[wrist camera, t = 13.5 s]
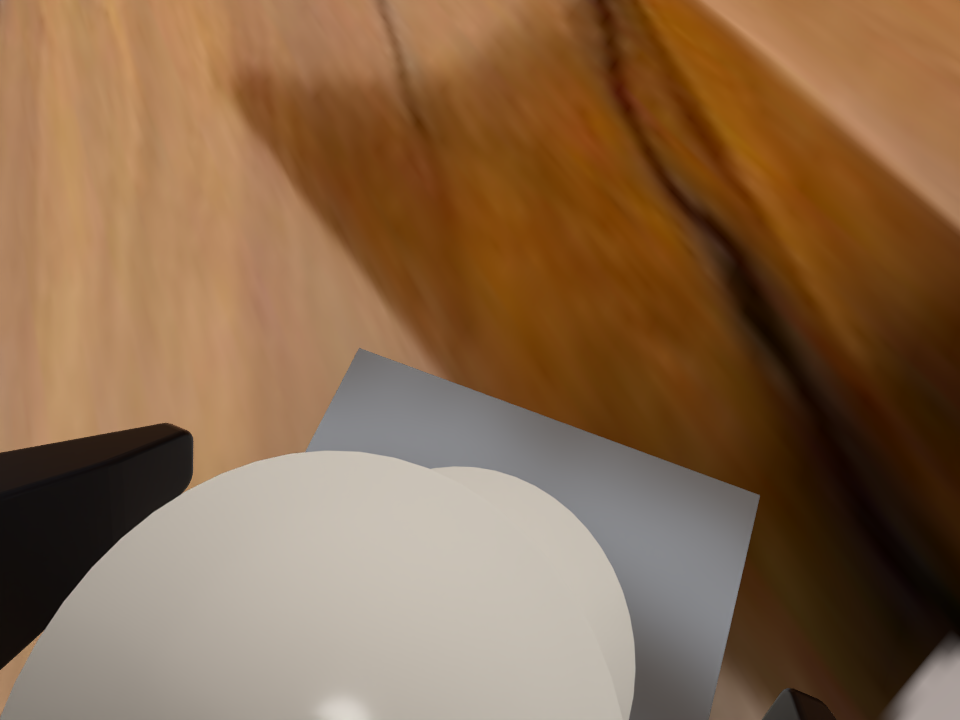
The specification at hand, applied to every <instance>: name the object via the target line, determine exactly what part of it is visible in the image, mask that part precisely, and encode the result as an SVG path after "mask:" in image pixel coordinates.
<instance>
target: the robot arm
mask: <svg viewBox="0 0 960 720" xmlns="http://www.w3.org/2000/svg"><path fill="white" fill-rule="evenodd" d="M192 475H193V437H192V435H191V433H190V432H189V431H187V430H185V429H182V428H180V427H178V426H175V425H173V424H169V423H162V424H156V425H151V426H145V427H140V428H134V429H129V430H123V431H118V432H112V433H107V434H101V435H96V436H90V437H85V438H79V439H74V440H68V441H63V442H57V443H52V444H46V445H41V446H35V447H30V448H24V449H19V450H13V451H8V452H2V453H0V670H1V669H2V668H3V667H4V666H5V665H7V664H8V663H9V662H10V661H11V660H12V659H13V658H14V657H15V656H16V655H18V654H19V653H20V652H21V651H22V650H23V649H24V648H25V647H26V646H27V645H29V644H30V643H31V642H32V641H33V640H34V639H35V638H36V637H37V636H38V635H40V634H41V633H42V632H43V631H44V630H45V629H46V627H47V626H48V624H49V623H50V621H51V620H52V618H53V617H54V615H55V614H56V612H57V611H58V609H59V608H60V606H61V605H62V603H63V602H64V601H65V600H66V598H67V597H68V596H69V595H70V593H71V592H72V591H73V590H74V589H75V587H76V586H77V585H78V584H79V583H80V581H81V580H82V579H83V578H84V576H85V575H86V574H87V573H88V572H89V570H90V569H91V568H92V567H93V566H94V565H95V564H96V563H97V562H98V561H99V560H100V559H101V558H102V557H103V556H104V555H105V554H106V553H107V552H108V551H109V550H110V549H111V548H112V547H113V546H114V545H115V544H116V543H117V542H118V541H119V540H120V539H121V538H122V537H123V536H125V535H126V534H127V533H128V532H130V531H131V530H132V529H133V528H135V527H136V526H137V525H138V524H140V523H141V522H142V521H143V520H144V519H146V518H147V517H148V516H149V515H151V514H152V513H153V512H155V511H156V510H158V509H159V508H161V507H162V506H164V505H165V504H167V503H169V502H170V501H172V500H173V499H175V498H176V497H178V496H179V495H181V494H182V493H183V492H184V490H185V489H186V488H187V486H188V485H189V483H190V481H191V479H192ZM762 720H836V719H835V717H834V716H833V714H832V713H831V712H830V710H829V709H828V707H827V706H826V705H825V704H824V703H823V702H822V701H820V700H819V699H817V698H814V697H812V696H810V695H807V694H805V693H802V692H800V691H798V690H795V689H792V688H788V689H785V690H783V691H782V692H781V694H780V695H779V696H778V698H777V699H776V700H775V702H774V703H773V705H772V706H771V707H770V709H769V710H768V712H767V713H766V715H765V716H764V717H763V719H762Z"/></svg>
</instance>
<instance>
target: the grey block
mask: <svg viewBox="0 0 960 720" xmlns="http://www.w3.org/2000/svg"><path fill="white" fill-rule="evenodd" d="M315 451H353V452H365V453H370V454H376V455H382V456H388V457H394V458H397V459H401V460H404V461H407V462H410V463H413V464H416V465H420V466H423V467H426V468H429V469H432V468H442V467H453V466H457V467H477V468H483V469H489V470H494V471H498V472H501V473H505V474H508V475H511V476H514V477H517V478H519V479H521V480H523V481H526V482H528V483H530V484H532V485H534V486H536V487H538V488H539V489H541V490H543V491H544V492H546V493H547V494H549V495H551V496H552V497H554V498H555V499H556V500H557V501H559V502H560V503H561V504H562V505H564V506H565V507H566V508H567V509H569V510H570V511H571V512H572V513H573V514H574V515H575V516H576V517H577V518H578V519H579V520H580V521H581V523H582V524H583V525H584V526H585V527H586V528H587V529H588V530H589V532H590V533H591V534H592V536H593V537H594V538H595V540H596V541H597V542H598V544H599V545H600V546H601V548H602V550H603V551H604V553H605V555H606V557H607V558H608V560H609V562H610V564H611V565H612V567H613V569H614V572H615V574H616V576H617V579H618V581H619V583H620V586H621V588H622V590H623V593H624V597H625V600H626V604H627V607H628V611H629V614H630V619H631V625H632V631H633V637H634V646H635V668H636V669H635V683H634V696H633V701H632V706H631V711H630V717H629V720H709V716H710V711H711V707H712V703H713V698H714V694H715V690H716V685H717V681H718V676H719V672H720V668H721V663H722V659H723V655H724V650H725V646H726V642H727V637H728V633H729V628H730V624H731V620H732V615H733V611H734V607H735V602H736V598H737V594H738V589H739V585H740V580H741V576H742V572H743V567H744V563H745V559H746V554H747V550H748V546H749V541H750V537H751V532H752V528H753V524H754V519H755V515H756V511H757V506H758V502H759V498H760V495H757V494H755V493H752V492H749V491H746V490H744V489H741V488H738V487H736V486H733V485H730V484H727V483H725V482H722V481H719V480H717V479H714V478H711V477H708V476H706V475H703V474H700V473H698V472H695V471H692V470H689V469H687V468H684V467H681V466H679V465H676V464H673V463H670V462H668V461H665V460H662V459H659V458H657V457H654V456H651V455H649V454H646V453H643V452H640V451H638V450H635V449H632V448H630V447H627V446H624V445H621V444H619V443H616V442H613V441H611V440H608V439H605V438H602V437H600V436H597V435H594V434H592V433H589V432H586V431H583V430H581V429H578V428H575V427H573V426H570V425H567V424H564V423H562V422H559V421H556V420H553V419H551V418H548V417H545V416H543V415H540V414H537V413H534V412H532V411H529V410H526V409H524V408H521V407H518V406H515V405H513V404H510V403H507V402H505V401H502V400H499V399H496V398H494V397H491V396H488V395H486V394H483V393H480V392H477V391H475V390H472V389H469V388H466V387H464V386H461V385H458V384H456V383H453V382H450V381H447V380H445V379H442V378H439V377H437V376H434V375H431V374H428V373H426V372H423V371H420V370H418V369H415V368H412V367H409V366H407V365H404V364H401V363H399V362H396V361H393V360H390V359H388V358H385V357H382V356H380V355H377V354H374V353H371V352H369V351H366V350H363V349H360V348H359V349H358V351H357V353H356V355H355V357H354V359H353V361H352V363H351V365H350V367H349V369H348V371H347V373H346V375H345V376H344V378H343V380H342V382H341V384H340V386H339V388H338V390H337V392H336V394H335V396H334V398H333V400H332V402H331V403H330V405H329V407H328V409H327V411H326V413H325V415H324V417H323V419H322V421H321V423H320V425H319V427H318V429H317V431H316V432H315V434H314V436H313V438H312V440H311V442H310V444H309V446H308V448H307V450H306V452H315Z"/></svg>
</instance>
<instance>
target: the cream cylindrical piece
mask: <svg viewBox="0 0 960 720" xmlns="http://www.w3.org/2000/svg"><path fill="white" fill-rule="evenodd" d="M635 669H636V668H635V646H634V637H633V631H632V625H631V619H630V614H629V611H628V607H627V604H626V600H625V597H624V593H623V590H622V588H621V586H620V583H619V581H618V579H617V576H616V574H615V572H614V569H613V567H612V565H611V564H610V562H609V560H608V558H607V557H606V555H605V553H604V551H603V550H602V548H601V546H600V545H599V544H598V542H597V541H596V540H595V538H594V537H593V536H592V534H591V533H590V532H589V530H588V529H587V528H586V527H585V526H584V525H583V524H582V523H581V521H580V520H579V519H578V518H577V517H576V516H575V515H574V514H573V513H572V512H571V511H570V510H569V509H567V508H566V507H565V506H564V505H562V504H561V503H560V502H559V501H557V500H556V499H555V498H554V497H552V496H551V495H549V494H547V493H546V492H544V491H543V490H541V489H539V488H538V487H536V486H534V485H532V484H530V483H528V482H526V481H523V480H521V479H519V478H517V477H514V476H511V475H508V474H505V473H501V472H498V471H494V470H489V469H483V468H477V467H457V466H453V467H442V468H432V469H429V468H426V467H423V466H420V465H416V464H413V463H410V462H407V461H404V460H401V459H397V458H394V457H388V456H382V455H376V454H370V453H365V452H353V451H315V452H304V453H294V454H287V455H283V456H278V457H274V458H270V459H265V460H261V461H256V462H253V463H250V464H247V465H245V466H242V467H239V468H236V469H233V470H231V471H228V472H225V473H222V474H220V475H218V476H216V477H214V478H212V479H210V480H208V481H206V482H204V483H202V484H200V485H198V486H196V487H194V488H191V489H189V490H187V491H186V492H184V493H183V494H181V495H179V496H178V497H176V498H175V499H173V500H172V501H170V502H169V503H167V504H165V505H164V506H162V507H161V508H159V509H158V510H156V511H155V512H153V513H152V514H151V515H149V516H148V517H147V518H146V519H144V520H143V521H142V522H141V523H140V524H138V525H137V526H136V527H135V528H133V529H132V530H131V531H130V532H128V533H127V534H126V535H125V536H123V537H122V538H121V539H120V540H119V541H118V542H117V543H116V544H115V545H114V546H113V547H112V548H111V549H110V550H109V551H108V552H107V553H106V554H105V555H104V556H103V557H102V558H101V559H100V560H99V561H98V562H97V563H96V564H95V565H94V566H93V567H92V568H91V569H90V570H89V572H88V573H87V574H86V575H85V576H84V578H83V579H82V580H81V581H80V583H79V584H78V585H77V586H76V587H75V589H74V590H73V591H72V592H71V593H70V595H69V596H68V597H67V598H66V600H65V601H64V602H63V603H62V605H61V606H60V608H59V609H58V611H57V612H56V614H55V615H54V617H53V618H52V620H51V621H50V623H49V624H48V626H47V627H46V629H45V630H44V632H43V633H42V635H41V636H40V638H39V639H38V641H37V643H36V645H35V646H34V648H33V650H32V652H31V654H30V656H29V658H28V659H27V661H26V663H25V665H24V667H23V669H22V671H21V672H20V674H19V676H18V678H17V680H16V682H15V684H14V686H13V688H12V691H11V693H10V696H9V698H8V700H7V703H6V705H5V707H4V710H3V712H2V715H1V717H0V720H629V717H630V711H631V706H632V701H633V696H634V683H635Z"/></svg>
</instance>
